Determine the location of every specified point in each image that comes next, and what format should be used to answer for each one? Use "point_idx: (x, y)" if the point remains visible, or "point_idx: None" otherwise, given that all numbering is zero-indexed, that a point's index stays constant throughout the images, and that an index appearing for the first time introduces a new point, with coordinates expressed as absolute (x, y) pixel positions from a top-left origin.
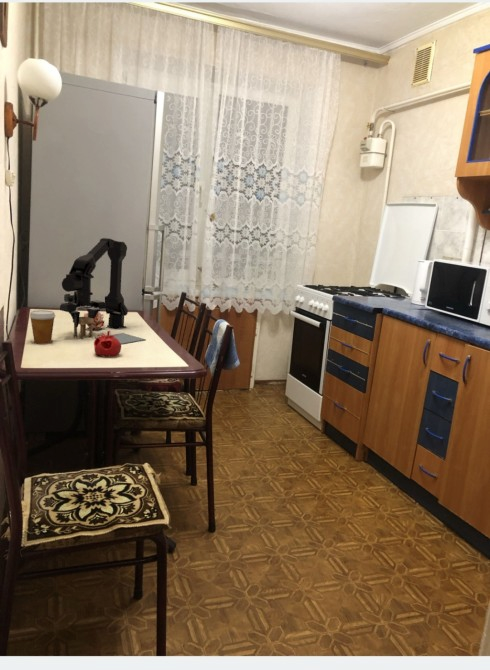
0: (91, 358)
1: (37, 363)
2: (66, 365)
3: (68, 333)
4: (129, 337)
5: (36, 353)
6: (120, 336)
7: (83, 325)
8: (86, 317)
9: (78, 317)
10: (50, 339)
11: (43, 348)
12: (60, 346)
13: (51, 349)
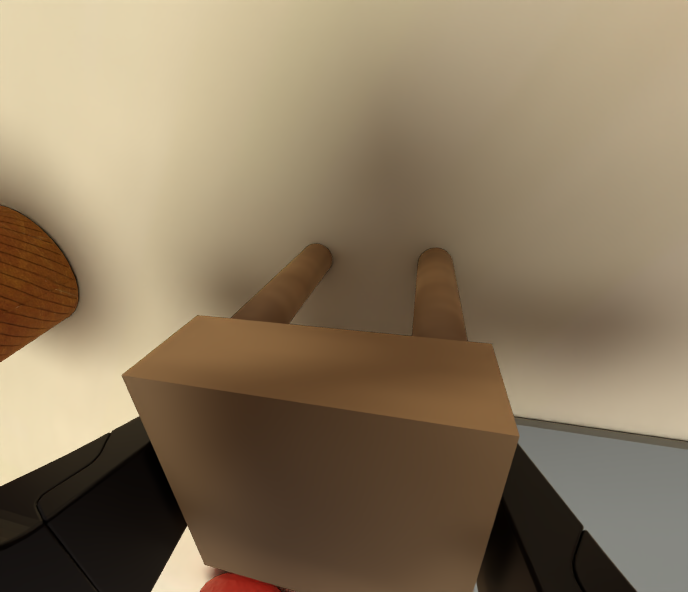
0: (185, 573)
1: None
2: None
3: (333, 53)
4: (665, 579)
5: (5, 425)
6: (645, 527)
7: (413, 331)
8: (427, 526)
9: (132, 590)
10: (47, 330)
11: (32, 387)
12: (117, 411)
13: (67, 422)
